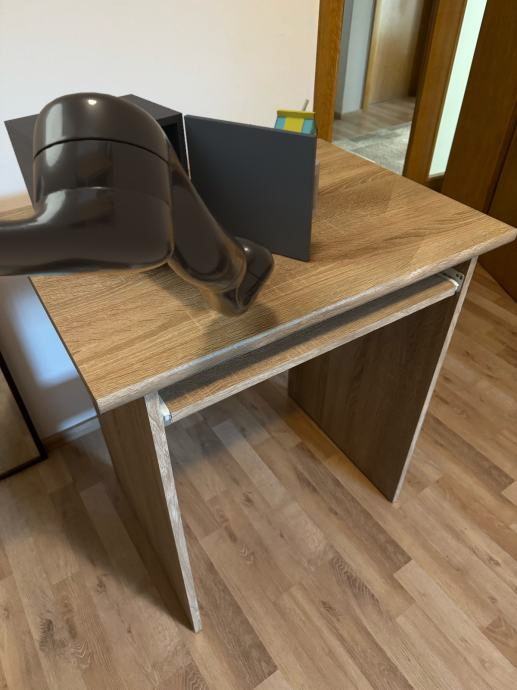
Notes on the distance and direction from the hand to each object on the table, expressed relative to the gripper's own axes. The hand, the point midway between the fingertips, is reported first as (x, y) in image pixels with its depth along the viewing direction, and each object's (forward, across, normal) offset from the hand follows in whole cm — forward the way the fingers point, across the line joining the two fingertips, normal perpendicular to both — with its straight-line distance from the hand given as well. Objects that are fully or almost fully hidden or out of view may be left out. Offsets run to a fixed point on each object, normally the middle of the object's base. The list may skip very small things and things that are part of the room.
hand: (117, 200), depth 84 cm
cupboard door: (-17, -17, +7) cm, 25 cm away
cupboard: (+2, 0, +7) cm, 7 cm away
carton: (-9, -34, +8) cm, 36 cm away
